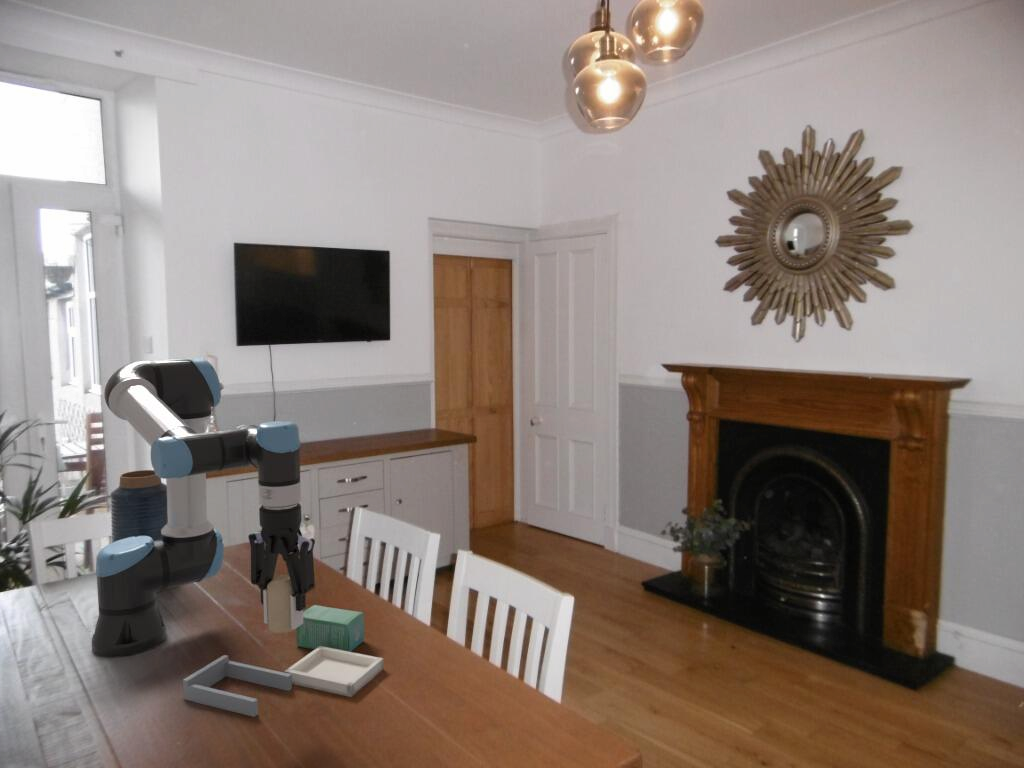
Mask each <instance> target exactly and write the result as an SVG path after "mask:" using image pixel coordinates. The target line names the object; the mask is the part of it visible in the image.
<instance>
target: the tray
mask: <svg viewBox="0 0 1024 768" xmlns="http://www.w3.org/2000/svg"><path fill="white" fill-rule="evenodd" d="M383 670H384V658H383V657H378V656H373V655H370V654H369V655H367V654H362V653H359V652H358V653H357V652H353V651H352V652H348V651H343V650H338V649H333V648H328V647H323V646H319V647H318V648H316V649H312V651H311V652H309V653H308V654H307V655H305V656H304V657H302V658H300V660H298V661H297V662H295V663H294V664H292V665H290V666H289V667H288V668H287V669H285V670H284V671H283V673H288V674H292V685H296V686H300V687H304V688H307V689H308V688H309V689H313V690H318V691H323V692H328V693H330V694H331V693H332V694H335V695H340V696H343V697H345V696H346V697H348V698H353V696H354V695H356V694H357V693H358V692H359V691H360V690H361V689H363V688H364V687H365V686H366V685H367V684H368V683H369V682H370V681H372V680H373V679H374V678H375V677H376V676H378V674H380V673H381V672H382V671H383Z"/></svg>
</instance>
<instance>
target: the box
mask: <svg viewBox="0 0 1024 768" xmlns="http://www.w3.org/2000/svg"><path fill="white" fill-rule="evenodd" d="M364 639H365V614H364V613H363V612H362V611H355V610H347V609H342V608H336V607H329V606H323V605H318V604H314V605H311V606H310V607H309V608H307V609H306V610H305V609H304V610H303V624H302V625H300V626H298V628H297V629H296V646H297V647H298V648H299V647H300V648H305V649H312V650H315V649H316V648H318V647H319V646H323V647H328V648H333V649H338V650H343V651H348V652H353V651H354V650H355V649H356V648H357V647H358V646H359V645H361V644H362V643H363V642H364Z"/></svg>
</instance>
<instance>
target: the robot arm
mask: <svg viewBox="0 0 1024 768" xmlns="http://www.w3.org/2000/svg"><path fill="white" fill-rule="evenodd" d="M104 387H105V388H104V391H103V392H104V395H103V396H104V400H105V404H106V406H107V408H108V409H109V410H110V412H111V413H112V414H113V415H114V416H115V417H117V418H119V419H120V420H123V421H126V422H127V423H129V425H131V427H132V428H134V430H135V431H136V432H137V433H138V434H139V435H140V437H141V438H143V440H145V442H146V443H147V445H149V446H150V462H151V466H152V468H153V470H154V472H155V474H156V475H157V476H158V477H160V478H161V479H165V480H166V485H167V515H168V523H167V524H166V525H165V526H164V527H163V528H162V529H161V540H156V541H154V540H153V539H152V538H151V537H149V536H138V537H135V536H134V537H129V538H125V539H121V540H118V541H115V542H113V543H112V542H111V543H109V544H107V545H105V546H104V547H103V548H101V549H100V550H99V552H98V553H97V555H96V560H95V562H96V564H95V576H96V587H97V588H96V589H97V602H98V617H97V619H96V624H95V629H94V633H93V634H92V637H91V651H92V652H93V654H95V655H97V656H101V657H108V658H115V657H125V656H131V655H136V654H139V653H143V652H145V651H147V650H148V651H149V650H151V649H153V648H155V647H157V646H158V645H160V644H161V643H162V642H164V641H165V639H166V637H167V625H166V623H165V621H164V620H163V619H164V618H163V616H162V614H161V612H160V609H159V607H158V605H157V593H159V592H158V591H160V592H162V591H161V590H163V591H165V590H169V589H173V588H177V587H181V586H185V585H190V584H193V583H200V582H202V581H205V580H206V579H207V580H208V579H211V578H213V577H215V576H216V575H217V573H219V572H220V570H221V568H222V565H223V562H224V555H225V545H224V541H223V540H224V539H223V536H222V533H221V532H220V531H219V530H218V529H217V528H214V527H215V525H214V523H212V522H211V521H210V520H209V519H208V517H207V516H208V513H207V511H208V510H207V475H206V474H208V473H214V472H223V471H229V470H233V469H234V470H235V469H242V468H249V467H253V468H256V469H257V476H258V478H257V479H258V480H257V481H258V502H259V503H258V504H259V505H261V506H260V507H259V509H258V514H259V526H260V527H261V530H257V531H255V532H253V533H250V534H248V535H247V536H248V541H249V545H250V584H252V585H253V586H254V585H256V586H257V587H258V589H260V602H261V605H263V624H267V625H268V596H267V585H268V584H269V583H270V582H271V581H272V580H274V576H275V571H276V567H277V562H278V559H279V558H278V557H279V555H281V557H282V560H283V561H285V562H284V563H285V566H286V568H287V569H286V570H287V573H288V576H289V577H290V581H291V584H292V588H293V592H294V593H293V594H291V595H290V610H291V629H295V628H297V627H298V626H300V625H302V624H303V612H304V610H305V609H306V606H307V603H306V601H307V599H306V598H307V597H306V594H307V593H309V592H311V591H312V590H315V588H316V585H315V584H316V583H315V569H314V568H315V567H314V565H315V564H314V551H313V550H314V548H315V547H314V546H315V543H316V541H315V538H309V539H308V538H306V537H304V536H303V534H302V531H301V529H300V527H301V523H302V521H303V520H302V505H301V504H300V502H302V489H301V487H302V486H301V438H300V434H299V433H300V431H299V426H298V424H297V423H295V422H293V421H285V420H284V421H283V420H276V421H273V420H272V421H267V422H262V423H260V424H259V425H258V426H257V425H256V424H241V425H238V426H237V427H235V428H233V429H228V430H219V431H218V430H217V431H208V432H206V427H205V425H206V424H205V423H206V422H207V421H208V420H209V419H210V418H211V417H212V408H215V407H216V406H219V404H220V402H221V398H222V389H221V383H220V379H219V377H218V374H217V371H216V370H215V367H214V366H213V365H212V363H211V362H209V361H208V360H206V359H203V358H189V357H186V358H185V357H184V358H183V357H182V358H168V359H156V360H155V359H154V360H148V359H147V360H146V359H145V360H137V361H133V362H129V363H127V364H125V365H123V366H122V367H120V368H118V369H117V370H116V371H115V372H113V374H112V375H111V376H110V377H109V379H108V380H107V382H106V385H105V386H104ZM156 592H157V593H156ZM295 630H296V629H295Z"/></svg>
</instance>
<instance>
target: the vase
mask: <svg viewBox="0 0 1024 768" xmlns="http://www.w3.org/2000/svg"><path fill="white" fill-rule="evenodd" d="M110 503H111V504H110V507H111V508H110V511H111V517H110V518H111V520H110V521H111V529H110V530H111V543H113V542H115V541H118V540H121V539H125V538H129V537H134V536H135V537H138V536H149V537H151V538H152V539H153V540H154V541H156V540H161V529H162V528H163V527H164V526H165V525H166V524H167V523H168V515H167V483H166V484H165V483H164V482H162V478H160V477H158V476H157V475H156V474H155V472H154V469H153V470H152V469H144V470H142V469H141V470H132V471H128V472H124V473H122V474H120V475H119V484H118V487H117V488H115V489H114V490H112V491H111V493H110ZM162 591H164V590H161V591H158V592H156V594H157V593H159V592H162Z"/></svg>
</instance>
